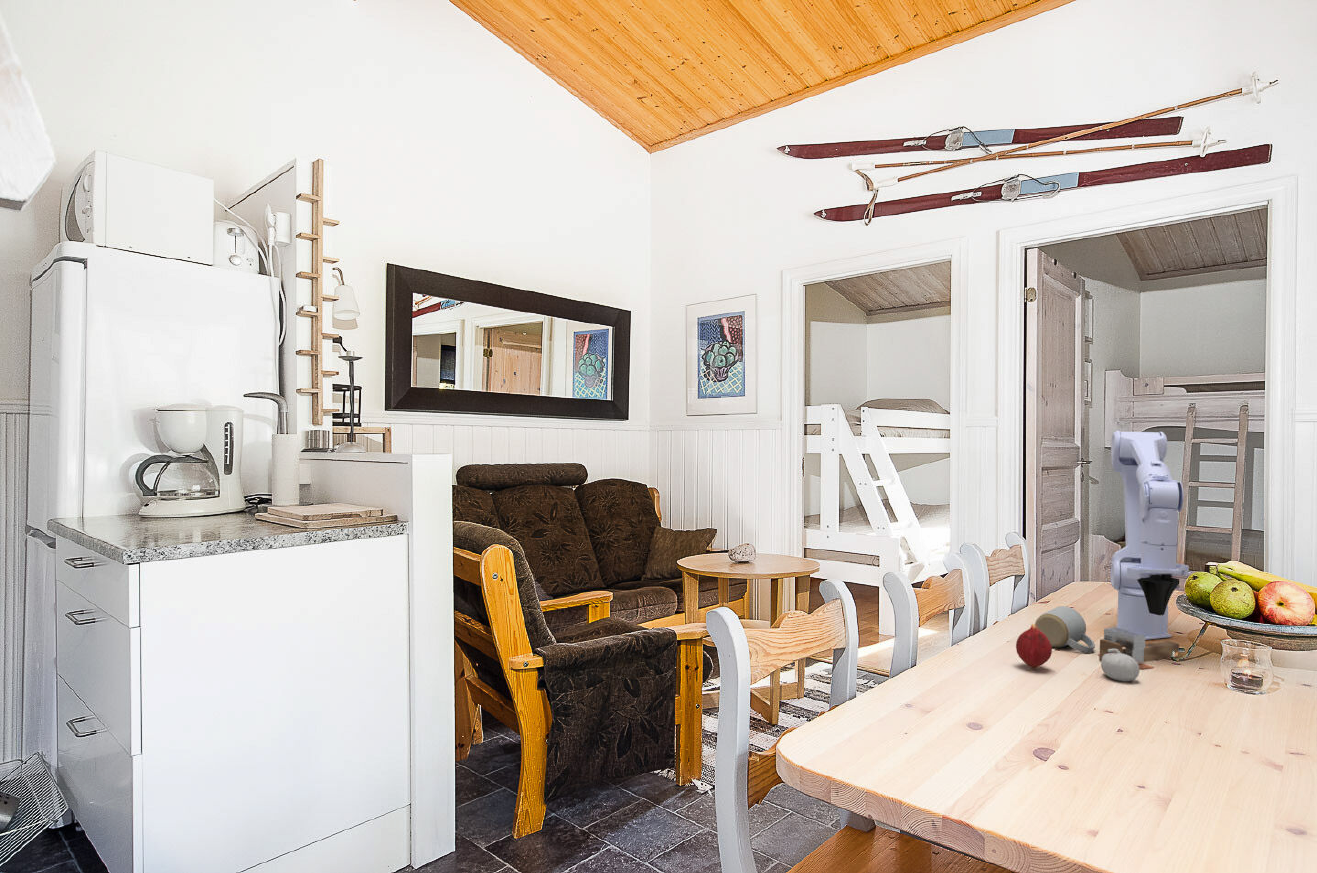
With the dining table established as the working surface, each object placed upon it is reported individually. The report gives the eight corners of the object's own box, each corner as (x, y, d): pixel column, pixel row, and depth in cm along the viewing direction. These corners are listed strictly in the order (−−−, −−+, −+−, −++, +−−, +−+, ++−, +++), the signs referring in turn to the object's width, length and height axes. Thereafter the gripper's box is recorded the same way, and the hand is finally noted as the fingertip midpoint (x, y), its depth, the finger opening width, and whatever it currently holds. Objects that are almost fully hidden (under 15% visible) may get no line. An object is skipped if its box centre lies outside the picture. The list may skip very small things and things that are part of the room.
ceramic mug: (1030, 643, 154) (1032, 607, 153) (1048, 637, 159) (1050, 602, 158) (1084, 657, 146) (1086, 619, 146) (1101, 650, 151) (1103, 613, 151)
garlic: (1094, 678, 133) (1095, 648, 133) (1105, 672, 137) (1106, 643, 137) (1132, 687, 129) (1134, 656, 128) (1143, 681, 132) (1144, 651, 132)
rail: (1151, 648, 152) (1151, 629, 152) (1197, 662, 144) (1197, 641, 144) (1086, 656, 146) (1087, 635, 146) (1131, 671, 137) (1131, 649, 137)
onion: (1057, 674, 134) (1058, 629, 134) (1024, 673, 134) (1025, 628, 134) (1041, 664, 140) (1043, 620, 140) (1010, 663, 140) (1011, 619, 140)
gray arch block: (1114, 654, 146) (1115, 627, 146) (1144, 663, 141) (1145, 635, 141) (1103, 655, 145) (1104, 628, 145) (1133, 665, 140) (1134, 636, 140)
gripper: (1153, 548, 140) (1150, 622, 140) (1205, 545, 145) (1203, 616, 145) (1117, 542, 146) (1115, 612, 146) (1169, 539, 151) (1166, 607, 152)
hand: (1156, 614), depth 146 cm, fingers closed
